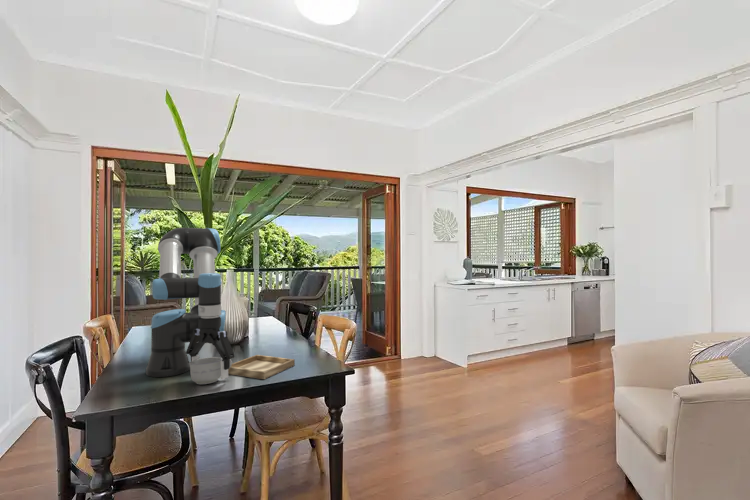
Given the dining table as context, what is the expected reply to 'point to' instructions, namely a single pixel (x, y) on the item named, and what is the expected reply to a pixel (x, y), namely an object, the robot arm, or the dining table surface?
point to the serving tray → (260, 366)
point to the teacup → (206, 370)
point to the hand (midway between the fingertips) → (209, 376)
